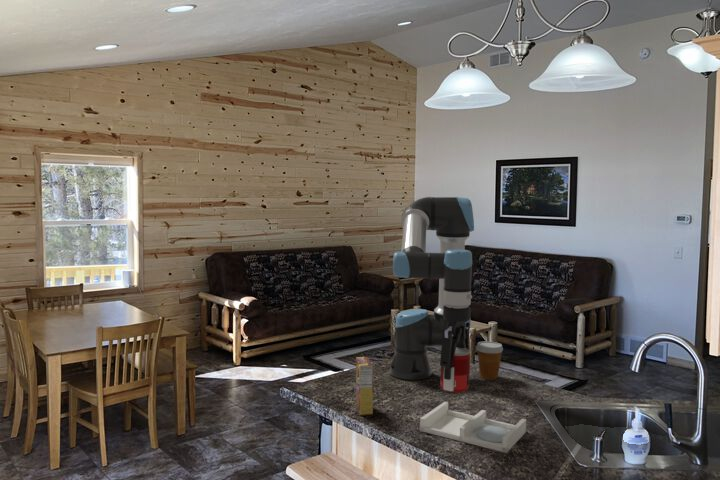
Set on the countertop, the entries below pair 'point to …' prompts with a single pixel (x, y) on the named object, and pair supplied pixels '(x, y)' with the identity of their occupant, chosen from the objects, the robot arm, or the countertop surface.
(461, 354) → the canned food
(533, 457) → the countertop surface
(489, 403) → the countertop surface
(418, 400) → the countertop surface
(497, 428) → the saucer
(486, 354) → the disposable coffee cup
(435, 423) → the rack
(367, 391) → the candy box
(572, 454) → the countertop surface
